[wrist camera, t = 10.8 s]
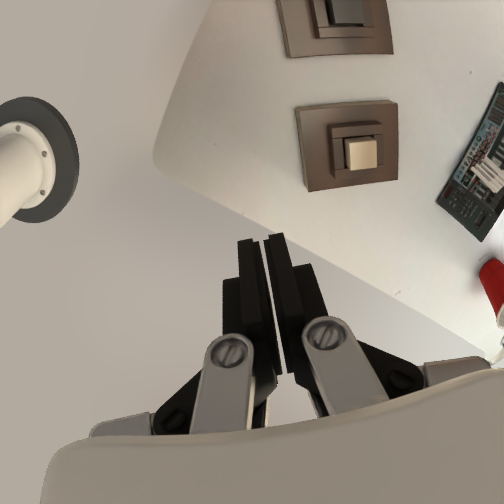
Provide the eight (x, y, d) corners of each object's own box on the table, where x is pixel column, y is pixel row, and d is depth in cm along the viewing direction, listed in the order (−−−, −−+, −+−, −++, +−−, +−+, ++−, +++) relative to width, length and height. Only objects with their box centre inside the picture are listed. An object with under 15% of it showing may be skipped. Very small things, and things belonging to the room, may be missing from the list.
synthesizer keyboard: (482, 247, 35) (479, 216, 28) (437, 207, 41) (423, 171, 34) (549, 150, 29) (552, 107, 22) (504, 120, 35) (498, 77, 28)
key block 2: (304, 185, 38) (311, 198, 35) (294, 107, 33) (301, 113, 29) (390, 173, 38) (404, 185, 34) (389, 100, 32) (405, 106, 29)
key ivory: (345, 165, 33) (350, 170, 32) (343, 138, 31) (349, 143, 30) (371, 162, 33) (377, 167, 32) (370, 136, 31) (376, 140, 30)
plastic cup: (497, 238, 45) (532, 278, 35) (511, 260, 49) (541, 297, 39) (461, 277, 50) (491, 321, 40) (479, 295, 54) (505, 335, 44)
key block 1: (287, 58, 29) (293, 58, 26) (271, -21, 23) (276, -30, 20) (385, 53, 28) (401, 55, 25) (373, -21, 23) (388, -27, 19)
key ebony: (330, 24, 24) (335, 23, 23) (325, -3, 22) (330, -6, 21) (359, 24, 24) (366, 23, 22) (354, -3, 22) (361, -5, 21)
